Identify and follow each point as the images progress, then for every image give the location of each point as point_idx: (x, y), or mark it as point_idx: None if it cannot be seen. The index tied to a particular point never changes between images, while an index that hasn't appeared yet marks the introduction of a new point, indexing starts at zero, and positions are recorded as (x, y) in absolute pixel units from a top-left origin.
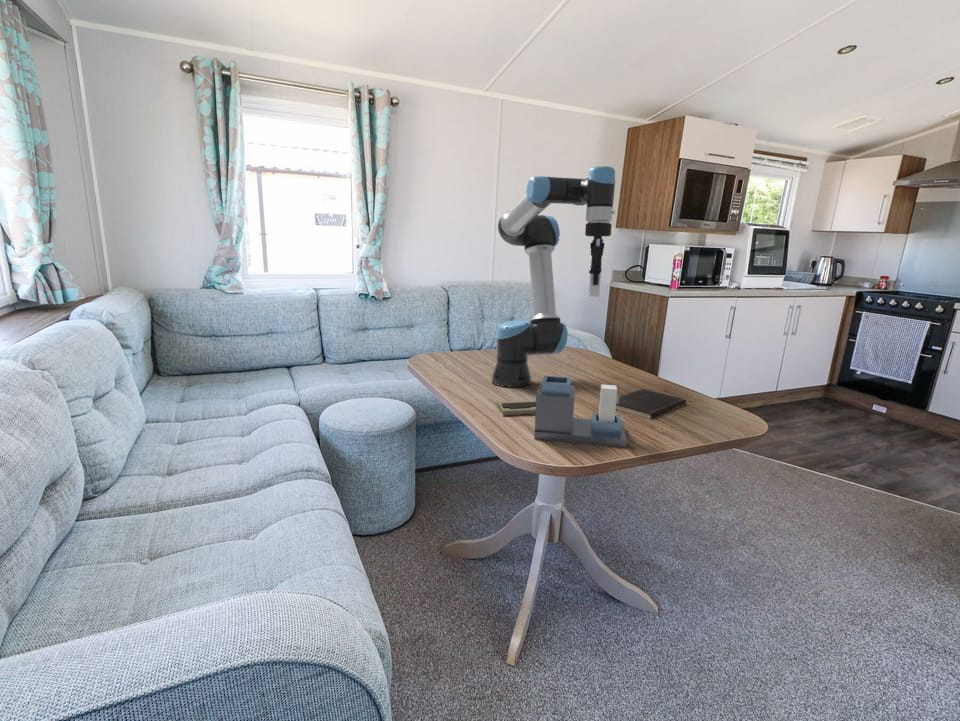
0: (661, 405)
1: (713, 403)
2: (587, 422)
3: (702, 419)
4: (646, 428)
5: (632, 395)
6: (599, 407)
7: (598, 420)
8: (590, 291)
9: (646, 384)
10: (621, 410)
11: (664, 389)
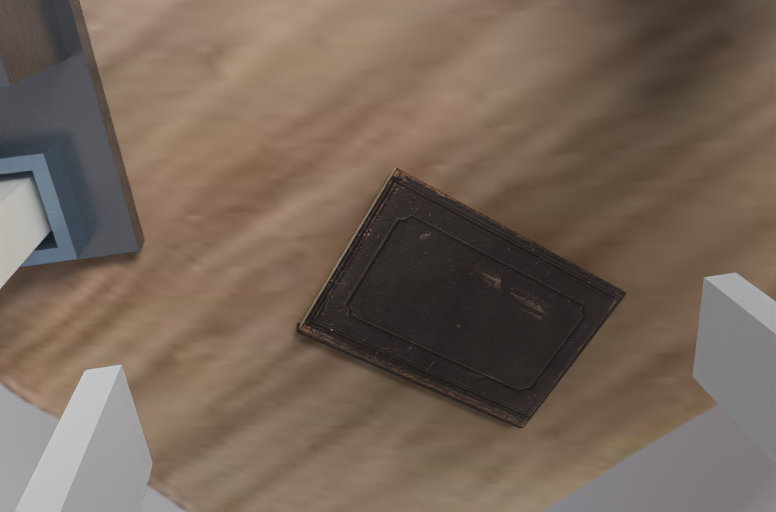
0: (414, 362)
1: (549, 489)
2: (56, 124)
3: (362, 461)
4: (187, 315)
5: (518, 261)
6: (5, 195)
7: (30, 176)
8: (64, 417)
9: None
10: (360, 224)
11: (692, 354)
